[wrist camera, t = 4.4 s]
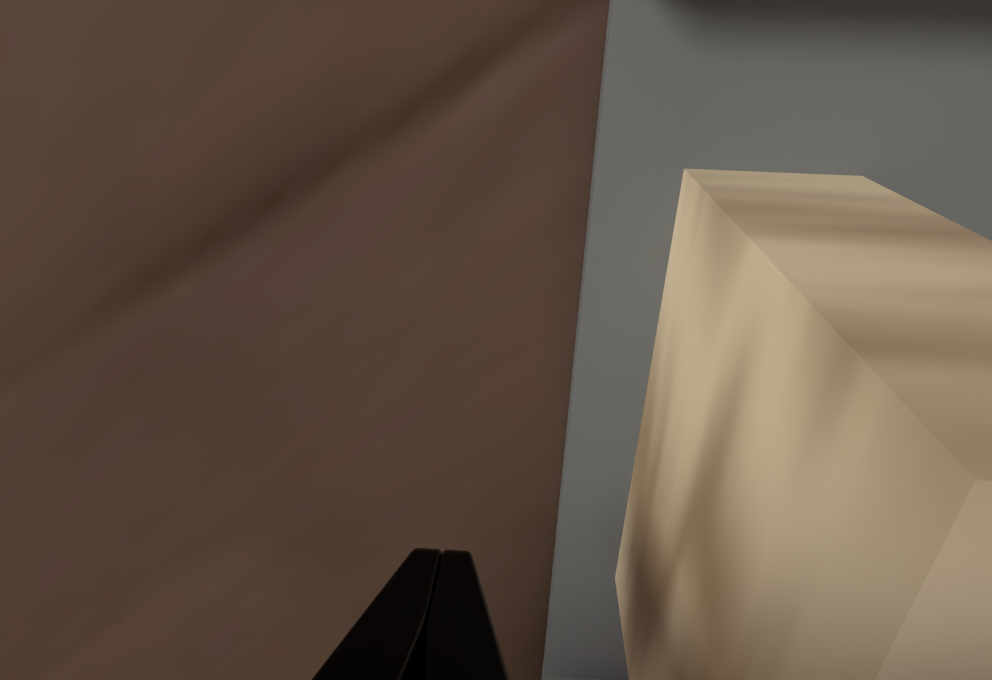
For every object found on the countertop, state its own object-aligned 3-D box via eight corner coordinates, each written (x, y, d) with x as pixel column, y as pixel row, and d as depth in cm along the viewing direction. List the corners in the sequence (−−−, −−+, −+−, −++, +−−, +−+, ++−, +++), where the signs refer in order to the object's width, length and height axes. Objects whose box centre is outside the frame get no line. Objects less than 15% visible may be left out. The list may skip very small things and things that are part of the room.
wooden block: (737, 586, 15) (911, 1085, 8) (614, 578, 15) (681, 1062, 8) (862, 175, 10) (1531, 513, 3) (683, 168, 11) (975, 481, 4)
